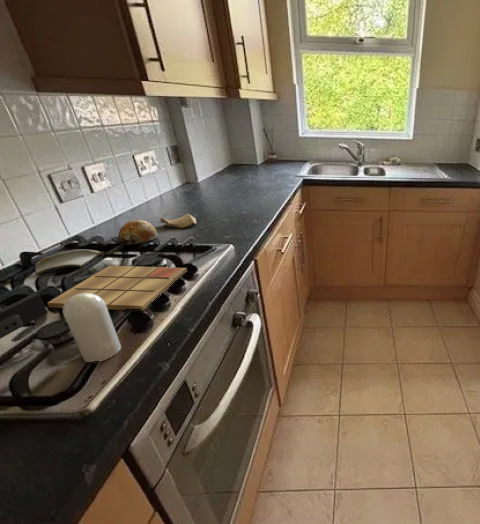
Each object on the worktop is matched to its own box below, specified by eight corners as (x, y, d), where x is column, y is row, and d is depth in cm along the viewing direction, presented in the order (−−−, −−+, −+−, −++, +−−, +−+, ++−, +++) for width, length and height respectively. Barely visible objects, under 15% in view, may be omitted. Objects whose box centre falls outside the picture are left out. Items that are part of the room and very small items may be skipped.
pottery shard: (188, 222, 125) (158, 221, 118) (189, 210, 124) (159, 209, 117) (199, 231, 119) (167, 230, 112) (200, 219, 118) (168, 218, 110)
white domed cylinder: (74, 362, 56) (47, 303, 51) (98, 341, 61) (76, 286, 56) (106, 363, 56) (82, 304, 51) (128, 342, 61) (108, 287, 56)
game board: (49, 307, 70) (46, 302, 69) (110, 269, 86) (109, 265, 86) (143, 310, 70) (142, 305, 69) (187, 271, 86) (186, 267, 86)
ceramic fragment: (101, 255, 94) (96, 242, 92) (107, 260, 91) (102, 247, 89) (35, 273, 84) (28, 259, 82) (40, 279, 81) (33, 265, 79)
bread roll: (161, 249, 107) (166, 225, 107) (126, 246, 98) (132, 220, 97) (144, 243, 111) (149, 220, 111) (109, 239, 102) (114, 214, 102)
